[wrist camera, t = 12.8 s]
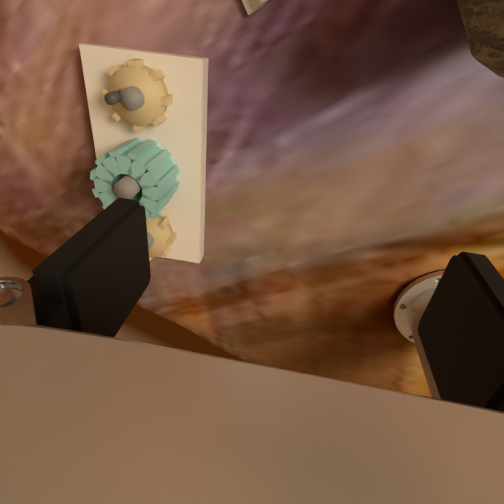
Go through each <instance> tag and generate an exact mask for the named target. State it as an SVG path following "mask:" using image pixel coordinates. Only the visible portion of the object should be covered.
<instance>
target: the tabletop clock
mask: <svg viewBox="0 0 504 504" xmlns="http://www.w3.org/2000/svg"><path fill="white" fill-rule="evenodd" d="M457 3H458V7H459V10H460V14H461V18H462V21H463V25H464V28H465V32H466V36H467V39H468V43H469V46H470V50H471V54H472V56H473V57H474V58H475V59H476V60H477V61H479V62H480V63H481V64H483V65H484V66H486V67H487V68H488V69H490V70H491V71H492V72H494V73H495V74H497V75H498V76H500V77H503V78H504V0H457Z"/></svg>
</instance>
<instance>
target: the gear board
mask: <svg viewBox="0 0 504 504" xmlns="http://www.w3.org/2000/svg"><path fill="white" fill-rule="evenodd" d="M79 47H80V54H81V61H82V67H83V74H84V80H85V87H86V93H87V100H88V106H89V113H90V120H91V126H92V133H93V139H94V146H95V152H96V159H98V158H99V157H100V156H102V155H104V154H105V153H107V152H109V151H110V150H112V149H114V148H116V147H117V146H119V145H121V144H122V143H125V142H127V141H129V140H130V139H133V138H140V141H142V142H145V141H147V140H148V139H151V140H153V141H156V142H157V146H158V147H159V148H161V149H162V150H163V151H164V150H165V149H167V150H168V151H169V152H170V153H171V154H172V156H171V157H170V159H171V160H172V162H173V164H174V165H178V168H179V172H180V173H179V174H178V175H177V181H179V182H180V184H179V188H178V190H177V191H176V192H175V193H174V194H173V197H172V199H171V200H170V201H169V202H168V203H167V205H166V206H165V207H164V208H163V209H162V210H161V212H160V213H159V214H158V215H157V216H156V217H155V218H153V219H151V218H150V217H148V219H147V220H146V225H147V237H148V250H149V261H151V260H152V258H153V257H157V256H159V257H162V258H164V257H165V258H171V259H177V260H183V261H189V262H195V263H200V261H201V259H202V257H203V255H204V219H205V178H206V136H207V95H208V58H205V57H197V56H189V55H181V54H173V53H165V52H157V51H149V50H141V49H133V48H125V47H117V46H108V45H100V44H92V43H86V44H79ZM141 189H142V187H141V186H140V184H139V182H138V181H137V180H136V179H135V178H133V177H132V176H130V175H126V176H124V177H123V178H122V179H120V180H119V181H118V182H116V183H115V185H114V192H115V194H116V196H117V197H118V198H126V199H132V198H133V197H134V196H135V195H136V194H137V193H138V192H139V191H140V190H141ZM103 205H104V204H103Z"/></svg>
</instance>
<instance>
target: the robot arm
mask: <svg viewBox="0 0 504 504" xmlns="http://www.w3.org/2000/svg"><path fill="white" fill-rule="evenodd" d="M32 272H33V275H34V276H32V277H31V278H30V279H29V280H28V281H25V280H24V279H22V278H17V277H0V504H504V279H503V278H502V276H501V275H500V274H499V272H498V271H497V270H496V269H495V267H494V266H493V265H492V263H491V262H490V261H489V259H488V258H487V257H486V256H485V255H480V254H474V253H468V252H461V253H460V254H459V255H458V256H456V255H455V256H453V257H452V258H451V259H450V261H449V263H448V265H447V267H446V269H445V270H443V271H437V272H434V273H430V274H427V275H425V276H423V277H420V278H418V279H417V280H415V281H413V282H412V283H410V284H409V285H408V286H407V287H406V288H404V289H403V291H402V292H401V293H400V294H399V296H398V297H397V299H396V301H395V304H394V308H393V317H394V320H395V324H396V326H397V328H398V330H399V332H400V333H401V334H402V335H403V336H404V337H405V338H406V339H407V340H409V341H411V342H413V343H415V346H416V349H417V352H418V355H419V358H420V361H421V364H422V367H423V370H424V374H425V377H426V380H427V383H428V386H429V389H430V392H431V395H432V397H427V396H422V395H417V394H411V393H406V392H401V391H396V390H391V389H386V388H381V387H375V386H370V385H365V384H360V383H355V382H350V381H345V380H339V379H334V378H329V377H324V376H318V375H313V374H308V373H303V372H297V371H292V370H287V369H282V368H276V367H271V366H266V365H260V364H255V363H250V362H244V361H239V360H234V359H228V358H223V357H217V356H212V355H206V354H201V353H195V352H190V351H185V350H179V349H173V348H169V347H163V346H158V345H152V344H147V343H141V342H136V341H130V340H125V339H119V338H114V337H115V335H116V334H117V332H118V330H119V329H120V327H121V326H122V324H123V323H124V321H125V320H126V318H127V317H128V315H129V314H130V312H131V311H132V309H133V308H134V306H135V305H136V303H137V302H138V300H139V298H140V297H141V295H142V294H143V292H144V291H145V289H146V288H147V286H148V284H149V282H150V262H149V250H148V237H147V225H146V212H145V208H144V206H141V205H140V203H139V201H138V200H132V199H126V198H117V199H116V200H115V201H114V202H113V203H111V204H110V205H109V206H108V207H107V208H105V209H104V210H103V211H102V212H101V213H100V214H98V215H97V216H96V217H95V218H94V219H92V220H91V221H90V222H89V223H88V224H87V225H85V226H84V227H83V228H82V229H81V230H80V231H78V232H77V233H76V234H75V235H74V236H72V237H71V238H70V239H69V240H68V241H67V242H65V243H64V244H63V245H62V246H61V247H60V248H58V249H57V250H56V251H55V252H54V253H52V254H51V255H50V256H49V257H48V258H47V259H46V260H44V261H43V262H42V263H41V264H40V265H38V266H37V267H36V268H35V269H34V270H33V271H32Z"/></svg>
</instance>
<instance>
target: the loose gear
mask: <svg viewBox="0 0 504 504" xmlns="http://www.w3.org/2000/svg"><path fill="white" fill-rule="evenodd" d="M171 156H172V154H171V153H170V152H169V151H168V150H167V149H165V150H164V151H163V150H162V149H161V148H159V147H158V146H157V142H156V141H153V140H151V139H148V140H147V141H145V142H142V141H140V138H133V139H130V140H129V141H127V142H125V143H122V144H121V145H119V146H117V147H116V148H114V149H112V150H110V151H109V152H107V153H105V154H104V155H102V156H100V157H99V158H98V159H97V160H96V161H95V163H96V164H97V165H98V166H97V167H96V168H95V169H93V170H92V171H91V173H90V179H91V180H93V181H94V185H95V187H94V188H93V189H92V191H93V193H94V196H95V198H96V197H99V198H100V200H101V201H102V203H103V204H104V205H103V206H102V207H103V208H104V209H105V208H107V207H108V206H109V205H110V204H111V203H113V202H114V201H115V200H116V199H117V198H118V197H117V196H116V194H115V192H114V185H115V183H116V182H118V181H119V180H120V179H122V178H123V177H124V176H126V175H130V176H132V177H133V178H135V179H136V180H137V181H138V182H139V184H140V186H141V187H142V189H141V190H140V191H139V192H138V193H137V194H136V195H135V196H134V197H133V198H132V200H138V201H139V203H140V205H141V206H144V208H145V212H146V220H147V219H148V217H150V218H151V219H153V218H155V217H156V216H157V215H158V214H159V213H160V212H161V210H162V209H163V208H164V207H165V206H166V205H167V203H168V202H169V201H170V200H171V199H172V197H173V194H174V193H175V192H176V191H177V190H178V188H179V184H180V182H179V181H177V175H178V174H179V173H180V172H179V168H178V165H174V164H173V162H172V160H171V159H170V157H171Z"/></svg>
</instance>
